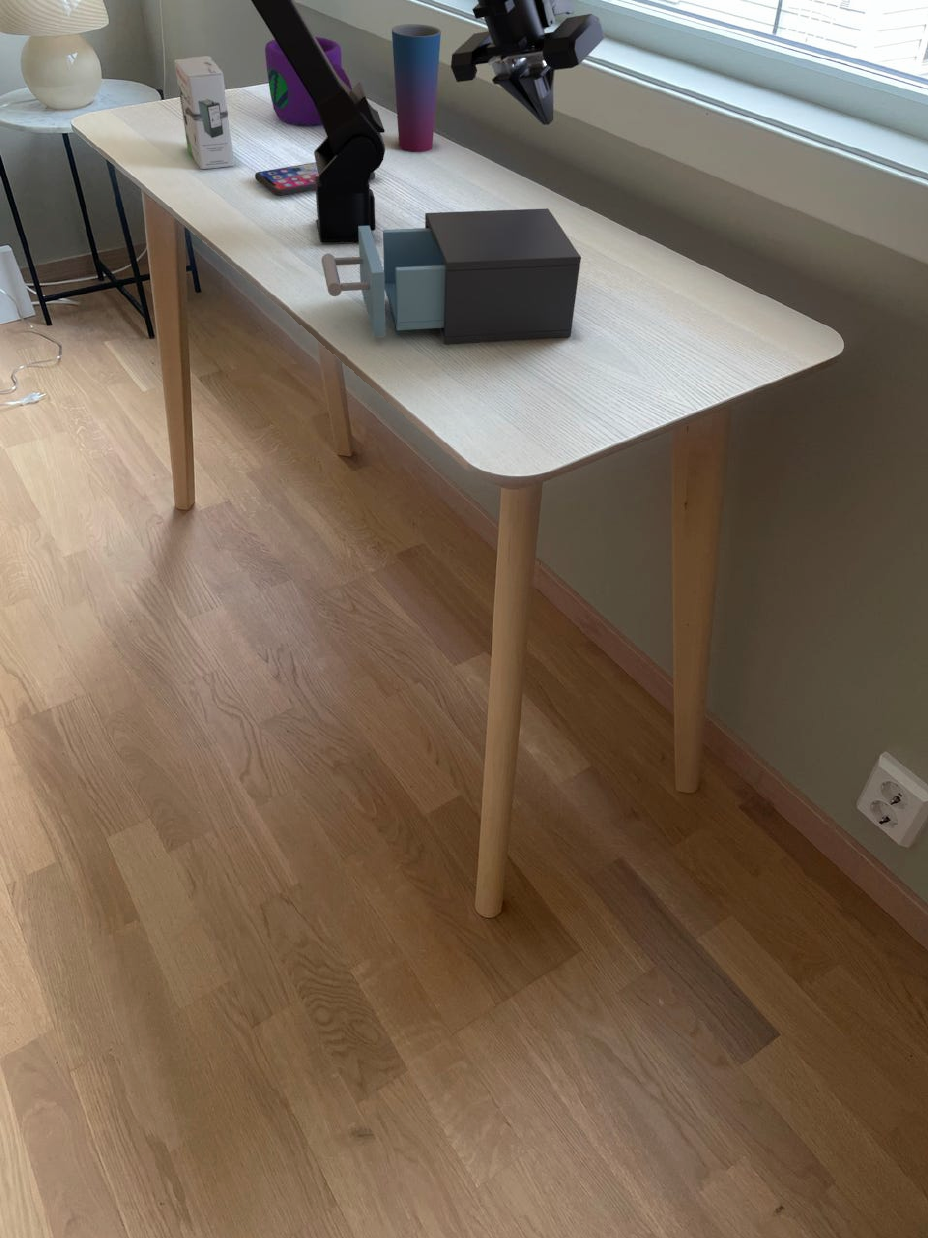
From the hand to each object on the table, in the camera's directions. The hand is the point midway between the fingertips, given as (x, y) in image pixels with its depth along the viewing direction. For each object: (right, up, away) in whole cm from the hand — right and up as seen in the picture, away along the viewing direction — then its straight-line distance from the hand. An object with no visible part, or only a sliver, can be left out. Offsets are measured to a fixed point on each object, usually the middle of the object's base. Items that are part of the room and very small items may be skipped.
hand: (548, 122), depth 110 cm
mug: (-33, +19, +35) cm, 51 cm away
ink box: (-46, +6, +22) cm, 51 cm away
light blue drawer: (-16, -26, -11) cm, 33 cm away
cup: (-17, +12, +29) cm, 35 cm away
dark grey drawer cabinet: (-7, -26, -9) cm, 28 cm away
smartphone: (-30, +1, +17) cm, 35 cm away
